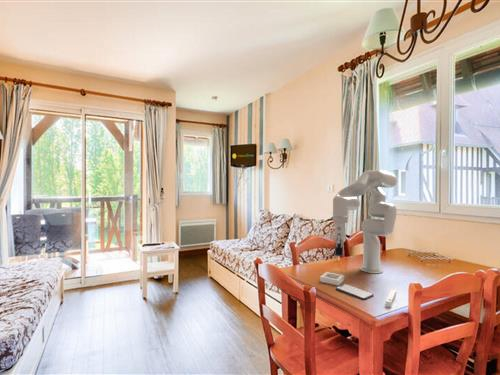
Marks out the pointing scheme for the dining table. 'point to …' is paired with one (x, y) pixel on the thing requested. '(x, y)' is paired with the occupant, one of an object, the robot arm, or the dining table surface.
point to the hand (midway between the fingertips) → (339, 253)
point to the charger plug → (342, 250)
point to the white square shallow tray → (332, 278)
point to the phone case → (354, 292)
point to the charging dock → (391, 298)
